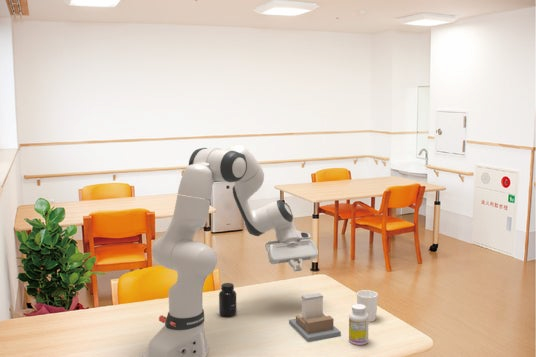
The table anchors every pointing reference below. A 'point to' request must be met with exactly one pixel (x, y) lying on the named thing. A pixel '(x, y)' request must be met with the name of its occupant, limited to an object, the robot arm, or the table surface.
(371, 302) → the white cup
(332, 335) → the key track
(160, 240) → the robot arm
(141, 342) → the table surface
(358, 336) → the supplement bottle
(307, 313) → the push key
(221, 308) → the supplement bottle
